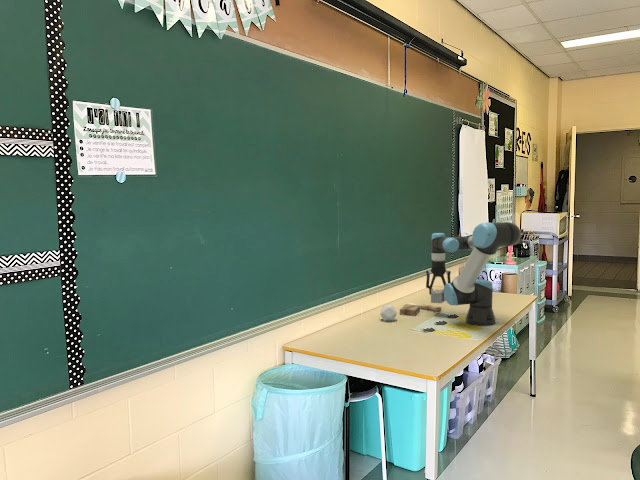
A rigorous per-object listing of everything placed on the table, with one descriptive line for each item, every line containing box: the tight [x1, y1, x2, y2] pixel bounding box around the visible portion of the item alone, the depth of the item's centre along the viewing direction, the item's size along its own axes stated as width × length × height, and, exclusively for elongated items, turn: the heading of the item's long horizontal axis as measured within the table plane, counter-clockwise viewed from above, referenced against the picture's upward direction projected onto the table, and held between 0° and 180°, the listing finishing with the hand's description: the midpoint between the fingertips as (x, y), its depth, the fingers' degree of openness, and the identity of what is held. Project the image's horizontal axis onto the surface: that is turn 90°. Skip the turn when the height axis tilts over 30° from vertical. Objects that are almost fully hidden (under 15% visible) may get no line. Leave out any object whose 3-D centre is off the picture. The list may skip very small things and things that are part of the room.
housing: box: [430, 289, 445, 304], centre depth 285 cm, size 6×10×6 cm, turn 152°
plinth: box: [399, 304, 421, 317], centre depth 293 cm, size 9×13×3 cm
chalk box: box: [405, 302, 419, 306], centre depth 302 cm, size 8×4×3 cm, turn 52°
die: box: [380, 304, 398, 322], centre depth 276 cm, size 8×9×10 cm
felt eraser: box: [419, 304, 442, 313], centre depth 299 cm, size 12×4×3 cm, turn 47°
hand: (438, 300), depth 285 cm, fingers closed on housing, 6 cm apart
